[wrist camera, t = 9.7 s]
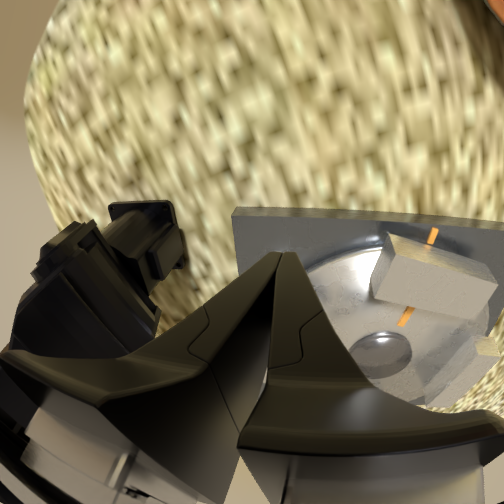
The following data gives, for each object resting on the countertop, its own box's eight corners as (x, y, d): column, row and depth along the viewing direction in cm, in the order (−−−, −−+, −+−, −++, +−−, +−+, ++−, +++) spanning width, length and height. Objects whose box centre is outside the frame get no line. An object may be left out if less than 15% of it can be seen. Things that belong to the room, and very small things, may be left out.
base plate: (258, 390, 36) (255, 400, 34) (236, 206, 22) (230, 216, 21) (441, 393, 30) (443, 404, 29) (525, 225, 17) (534, 235, 16)
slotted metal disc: (414, 411, 30) (416, 433, 28) (242, 383, 32) (234, 408, 30) (528, 275, 17) (545, 300, 15) (286, 199, 19) (279, 224, 17)
